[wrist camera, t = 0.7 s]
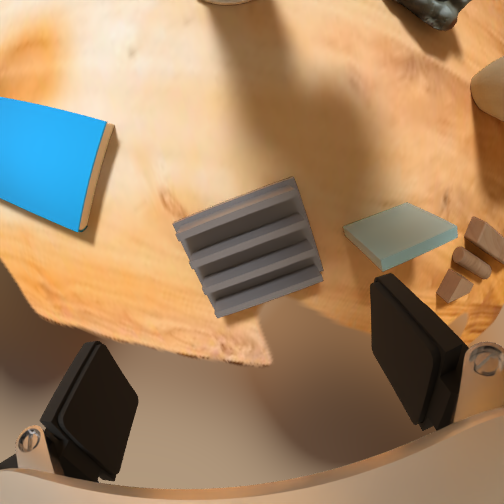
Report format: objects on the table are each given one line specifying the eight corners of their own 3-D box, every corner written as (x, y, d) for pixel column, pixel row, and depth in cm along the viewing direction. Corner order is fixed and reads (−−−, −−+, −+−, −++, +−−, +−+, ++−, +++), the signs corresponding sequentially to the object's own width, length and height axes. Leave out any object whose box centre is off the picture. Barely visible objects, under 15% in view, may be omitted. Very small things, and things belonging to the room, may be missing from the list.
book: (-5, 96, 27) (105, 119, 32) (10, 97, 31) (117, 121, 36) (-23, 191, 33) (76, 236, 37) (-8, 187, 37) (89, 228, 41)
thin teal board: (342, 226, 43) (380, 259, 31) (407, 202, 42) (456, 226, 30) (345, 235, 43) (382, 271, 31) (408, 211, 42) (457, 237, 30)
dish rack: (173, 222, 41) (166, 232, 36) (292, 176, 40) (300, 181, 35) (214, 306, 46) (213, 324, 42) (321, 267, 45) (331, 282, 40)
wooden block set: (488, 221, 38) (522, 253, 42) (468, 213, 44) (506, 244, 47) (447, 304, 44) (487, 320, 47) (431, 290, 49) (474, 308, 52)
